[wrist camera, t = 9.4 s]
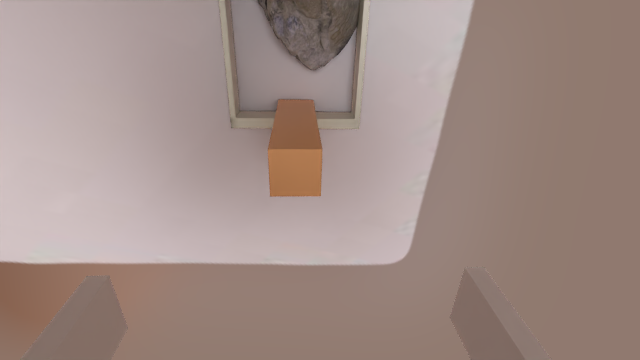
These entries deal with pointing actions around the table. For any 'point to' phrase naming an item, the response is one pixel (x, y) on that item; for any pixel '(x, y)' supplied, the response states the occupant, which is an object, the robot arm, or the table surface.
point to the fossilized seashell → (313, 27)
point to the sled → (294, 118)
